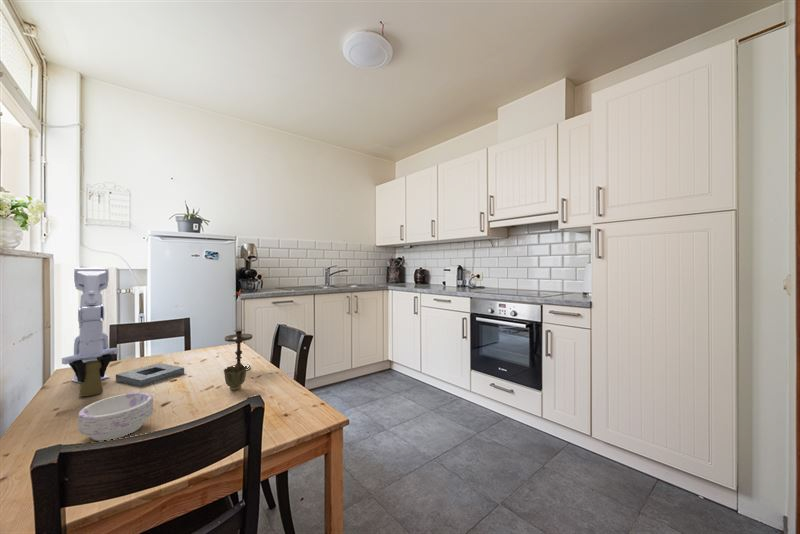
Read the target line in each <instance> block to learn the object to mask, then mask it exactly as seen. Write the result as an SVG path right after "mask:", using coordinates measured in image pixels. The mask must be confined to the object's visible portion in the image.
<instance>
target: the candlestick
mask: <svg viewBox="0 0 800 534" xmlns="http://www.w3.org/2000/svg"><path fill="white" fill-rule="evenodd" d="M241 293H242V289H241V288H240V289H239V291H238V294H237V296H238V297H237V299H236V322H235V323H236V326H235V327H236V329H235V330H233V332H235V333H236V334H230V335H227V336H224V341H225V342H228V343H231V342H232V343H234V342H235V343H236V351H235V352H234V353H235V355H236V357H235V359H236V364H235V365H234V364H233V365H231V366H235V367H236V368H237V365H240V366H241V365H242V364H243V363H241V359H242V358H243V357H242V356H241V355H242V354H243V350H241V343H243V342H244V341H249V340H252V339H253V334H252V333H242V331H244V329H242V299H241ZM248 365H249V364H248ZM231 366H229V367H231ZM249 367H250V368H251V365H249ZM249 367H248V368H249ZM248 368H247V369H248Z"/></svg>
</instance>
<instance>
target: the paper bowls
mask: <svg viewBox="0 0 800 534" xmlns="http://www.w3.org/2000/svg"><path fill="white" fill-rule="evenodd" d="M153 402H154V397H153V395H151V394H150V393H146V392H131V393H123V394H119V395H114V396H110V397H107V398H103V399H100V400H97V401H94V402H93V403H92V402H91V403H90V404H88V405H86V406H84V407H83V408H81V409H80V410H79V412H78V414H77V416H78V417H77V420H78V423H77V424H78V432H79V433H80V434H81V435H84V436H85V435H86V436H89V437H90V438H91V439H92V440H94V441H97V442H98V441H99V442H102V441H103V442H105V441H104V440H106V441H112V440H111V439H113V440H116V439H120V438H123V437H126V436H129V435H130V433H131V434H133V433H135V432H136V431H138V430H140V428H141V427H142V426H143V424H144V423H145V421H147V420H148V419H149V418H150V417H151V416H152V415H153V413H154V403H153ZM128 434H129V435H128ZM125 435H126V436H125Z"/></svg>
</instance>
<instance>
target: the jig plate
mask: <svg viewBox="0 0 800 534" xmlns="http://www.w3.org/2000/svg"><path fill="white" fill-rule="evenodd" d="M181 374H182V375H185V367H183V366H177V365H172V364H166V363H162V362H159V363H154V364H151V365H148V366H147V365H146V366H142V367H139V368H136V369H131V370H128V371H127V370H126V371H124V372H120V373H116V374H115V381H116V382H119V383H122V384H123V383H124V384H127V385H131V386H135V387H140V388H143V387H146V386H149V385H152V384H155V382H156V383H158V381H159V382H162V381H165V380H169V379H172V378H175V377H178V376H182V375H181ZM171 377H172V378H171ZM168 378H169V379H168ZM161 380H162V381H161ZM142 386H143V387H142Z"/></svg>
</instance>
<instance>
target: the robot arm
mask: <svg viewBox="0 0 800 534" xmlns="http://www.w3.org/2000/svg"><path fill="white" fill-rule="evenodd" d="M73 272H74V273H73V274H74V275H73V278H74V279H73V280H74V287H75V289H76V290H78V291H81V292H82V294H81V295H80V301H79V302H80V303H79V304H80V305H79V308H78V310H77V321H78V326H79V327H78V328H79V335H78V336H76V337H75V338H74V343H73V355H70V356H66V357H62V358H61V364H62V365H69V366H70V368H72V370H73V371H74V372H73V374H74V378H72V379H70V381H72V382H74V383H80V384H81V383H82V382H84V369H85V365H86V363H84V362H87V361H93V360H98V361H100V362H101V364H102V365H101V368H100V369H99V371H100V376H101V381H102V380H105V379H108V378H110V376H109V375H105V374H106V372H107V371H106V370H107V369H108V366H109V364H110V363H111V361H112V360H113V355H116V354H118V353H119V348H118V347H111V348H109V343H110V342H109V335H108V333H105V332H103V326H104V325H103V323H104V321H105V306H104V304H103V294H101V293H102V291H103V290H106V289H108V287H109V281H110V280H109V279H110V278H109V274H110V273H109V268H108V267H75V268H74V270H73ZM101 319H102V320H101Z"/></svg>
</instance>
